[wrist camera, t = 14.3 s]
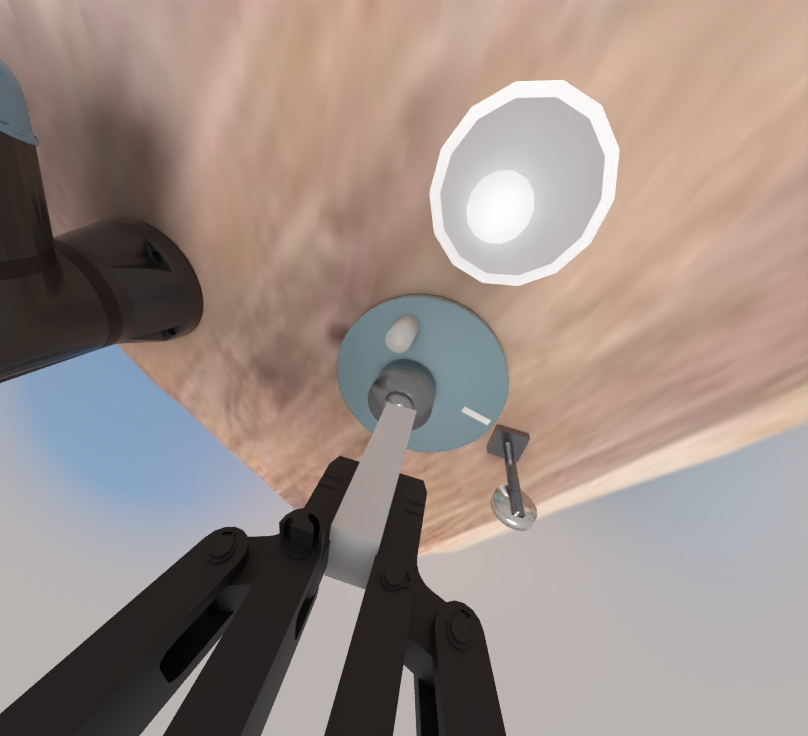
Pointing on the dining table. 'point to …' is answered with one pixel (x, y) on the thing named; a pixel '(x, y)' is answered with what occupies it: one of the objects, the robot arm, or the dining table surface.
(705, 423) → the dining table surface
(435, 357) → the turntable
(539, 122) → the foam cup
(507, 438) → the dial stand
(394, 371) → the cover
